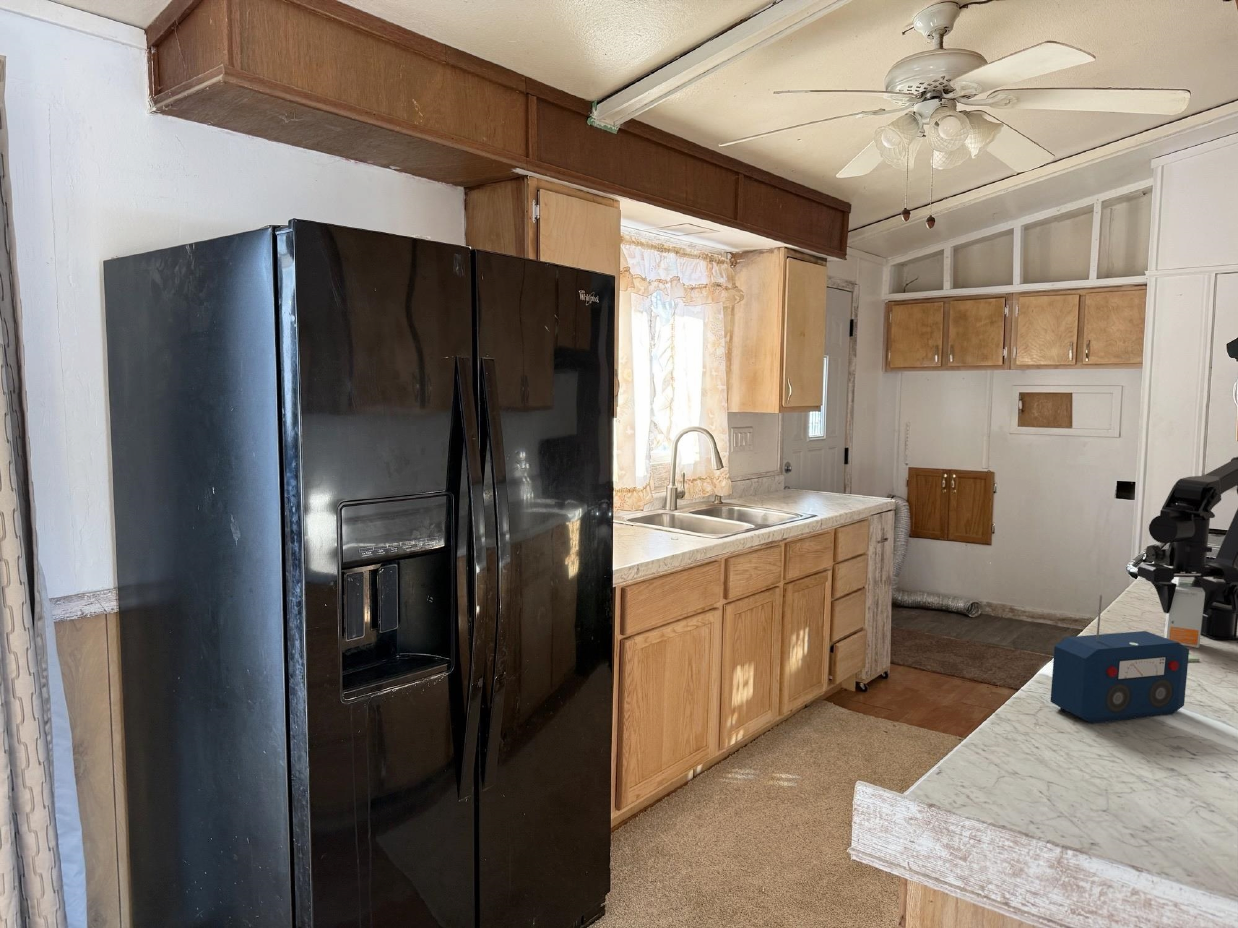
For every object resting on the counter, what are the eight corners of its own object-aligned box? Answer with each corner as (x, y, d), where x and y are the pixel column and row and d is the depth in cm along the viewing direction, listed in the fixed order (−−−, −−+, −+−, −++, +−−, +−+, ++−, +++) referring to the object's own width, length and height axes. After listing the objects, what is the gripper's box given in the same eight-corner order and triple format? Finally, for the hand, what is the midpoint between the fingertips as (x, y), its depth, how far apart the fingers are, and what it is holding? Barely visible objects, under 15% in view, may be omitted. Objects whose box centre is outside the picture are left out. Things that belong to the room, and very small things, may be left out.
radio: (1087, 728, 134) (1096, 604, 132) (1045, 707, 143) (1054, 590, 141) (1191, 716, 140) (1202, 597, 138) (1145, 696, 148) (1155, 584, 146)
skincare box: (1165, 643, 179) (1170, 587, 178) (1163, 638, 183) (1168, 583, 181) (1200, 648, 176) (1205, 591, 175) (1197, 642, 180) (1202, 587, 179)
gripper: (1204, 532, 186) (1198, 602, 187) (1122, 532, 184) (1117, 602, 186) (1245, 542, 175) (1238, 617, 176) (1158, 542, 173) (1152, 617, 175)
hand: (1184, 612), depth 179 cm, fingers open, 8 cm apart
